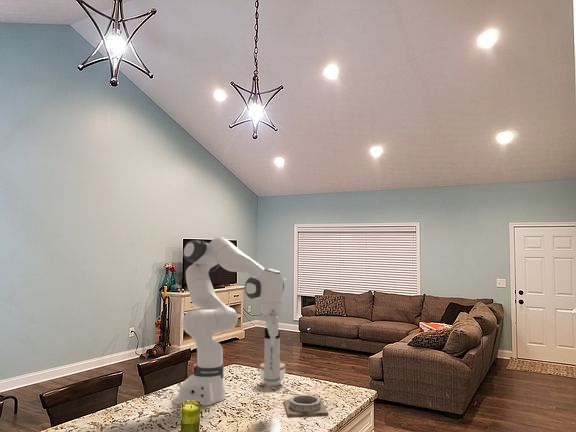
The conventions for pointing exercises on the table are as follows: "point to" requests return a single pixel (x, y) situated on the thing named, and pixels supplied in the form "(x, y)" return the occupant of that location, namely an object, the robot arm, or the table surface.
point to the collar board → (305, 406)
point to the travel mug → (271, 358)
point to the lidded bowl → (282, 373)
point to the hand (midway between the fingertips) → (271, 343)
